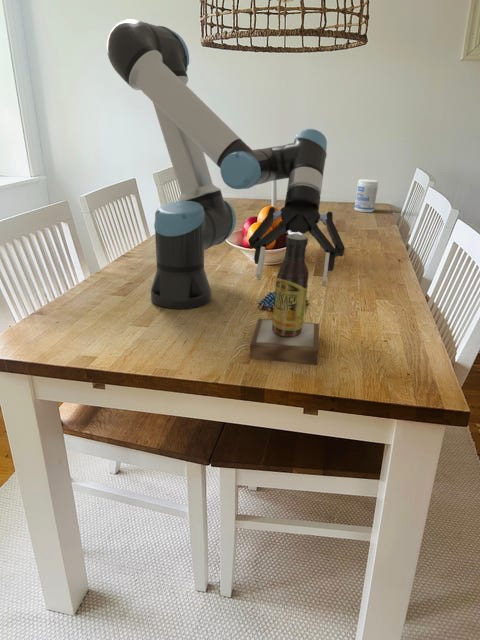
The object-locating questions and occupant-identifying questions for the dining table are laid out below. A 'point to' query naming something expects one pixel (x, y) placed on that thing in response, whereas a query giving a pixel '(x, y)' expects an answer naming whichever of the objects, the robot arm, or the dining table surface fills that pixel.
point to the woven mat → (270, 302)
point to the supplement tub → (366, 195)
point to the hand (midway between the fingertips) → (290, 280)
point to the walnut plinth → (285, 344)
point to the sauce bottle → (291, 288)
